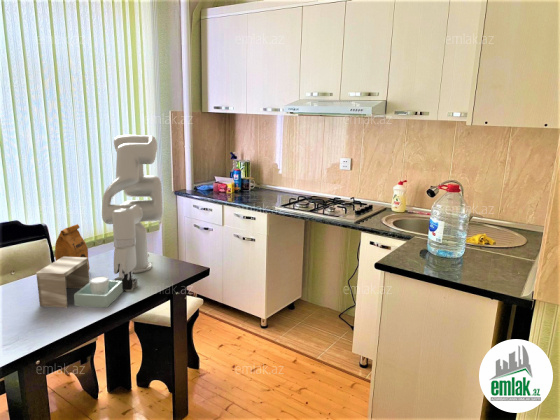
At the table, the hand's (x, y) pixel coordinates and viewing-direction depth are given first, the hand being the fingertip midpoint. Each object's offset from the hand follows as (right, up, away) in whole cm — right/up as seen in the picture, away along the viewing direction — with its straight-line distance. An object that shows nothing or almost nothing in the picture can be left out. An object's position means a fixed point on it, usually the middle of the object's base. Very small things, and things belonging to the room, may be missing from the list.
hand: (127, 288), depth 155 cm
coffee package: (-31, +1, +23) cm, 39 cm away
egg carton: (-6, -2, +13) cm, 14 cm away
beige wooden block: (-25, -4, +3) cm, 25 cm away
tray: (-11, -4, +2) cm, 12 cm away
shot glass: (-11, -4, +2) cm, 12 cm away
